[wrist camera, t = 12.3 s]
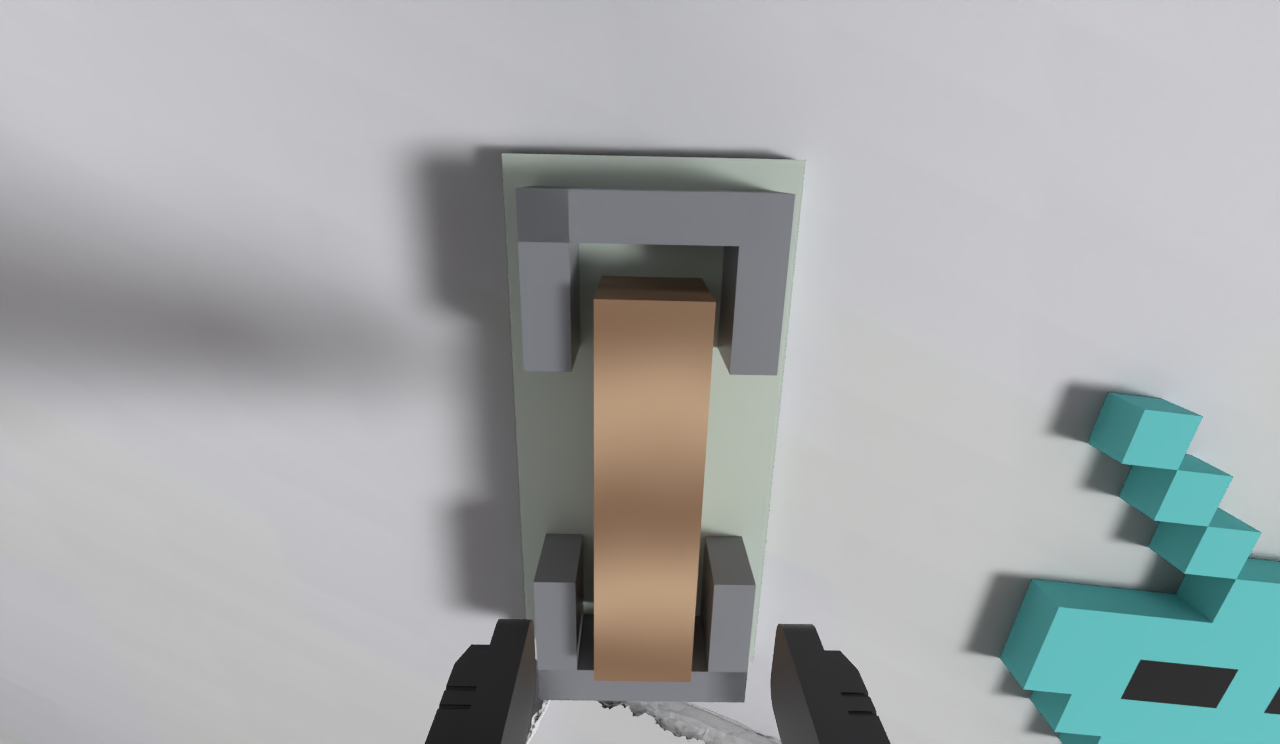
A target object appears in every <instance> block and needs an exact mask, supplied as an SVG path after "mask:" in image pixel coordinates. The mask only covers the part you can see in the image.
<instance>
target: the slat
mask: <svg viewBox="0 0 1280 744" xmlns="http://www.w3.org/2000/svg"><path fill="white" fill-rule="evenodd" d="M715 310H716V301H715V299H714V298H713V296H712V294H711V293H710V291H709V289H708V288H707V286H706V285H705V283H704V281H703V280H702V278H673V277H631V276H602V277H601V280H600V282H599V285H598V288H597V291H596V294H595V297H594V681H645V682H691V669H692V654H693V639H694V624H695V609H696V594H697V579H698V564H699V549H700V534H701V519H702V505H703V490H704V475H705V460H706V445H707V430H708V415H709V400H710V385H711V370H712V355H713V340H714V325H715Z"/></svg>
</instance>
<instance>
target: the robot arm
mask: <svg viewBox="0 0 1280 744" xmlns="http://www.w3.org/2000/svg"><path fill="white" fill-rule="evenodd" d="M535 690H536V659H535V638H534V623H533V620H529V619H499V620H498V622H497V624H496V627H495V630H494V633H493V636H492V640H491V643H490V645H471V646H470V647H469V648H468V649H467V650H466V651H465V653H464V654H463V655H462V656H461V657H460V658H459V659H458V660H457V662H456V663H455V664H454V667H453V669H452V672H451V675H450V677H449V680H448V683H447V686H446V690H445V691H444V694H443V696H442V699H441V702H440V704H439V709H438V710H437V712H436V715H435V718H434V720H433V723H432V726H431V728H430V731H429V734H428V736H427V739H426V742H425V744H526V741H527V736H528V731H529V726H530V721H531V716H532V711H533V706H534V699H535ZM771 699H772V706H773V711H774V715H775V719H776V723H777V727H778V731H779V735H780V739H781V743H782V744H890V741H889V739H888V737H887V735H886V732H885V730H884V728H883V726H882V723H881V721H880V719H879V716H877V715H876V710H875V707H874V705H873V703H872V701H871V698H870V697H868V691H867V689H866V687H865V685H864V682H863V680H862V678H861V676H860V673H859V671H858V670H857V668H856V667H855V666H854V665H853V664H852V663H851V662H850V661H849V660H848V659H847V658H846V657H845V656H844V655H843V653H842V652H841V651H826V650H824V649H823V646H822V644H821V641H820V638H819V636H818V633H817V631H816V628H815V627H814V626H813V625H812V624H778V626H777V630H776V637H775V646H774V654H773V663H772V671H771Z"/></svg>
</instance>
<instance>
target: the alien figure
mask: <svg viewBox="0 0 1280 744" xmlns="http://www.w3.org/2000/svg"><path fill="white" fill-rule="evenodd" d="M1202 417H1203V416H1201V415H1198V414H1196V413H1194V412H1191V411H1189V410H1187V409H1184V408H1182V407H1180V406H1177V405H1175V404H1173V403H1171V402H1168V401H1166V400H1164V399H1159V398H1151V397H1143V396H1135V395H1127V394H1118V393H1110V392H1108V394H1107V397H1106V399H1105V402H1104V404H1103V406H1102V409H1101V411H1100V414H1099V416H1098V419H1097V421H1096V424H1095V426H1094V429H1093V431H1092V433H1091V436H1090V438H1089V441H1088V444H1090V445H1092V446H1093V447H1095V448H1096V449H1098V450H1100V451H1101V452H1103V453H1105V454H1106V455H1108V456H1110V457H1111V458H1113V459H1115V460H1116V461H1118V462H1120V463H1121V464H1129V465H1133V466H1132V468H1131V470H1130V473H1129V475H1128V477H1127V479H1126V482H1125V484H1124V486H1123V488H1122V491H1121V493H1120V495H1119V497H1120V498H1121V499H1123V500H1124V501H1126V502H1127V503H1129V504H1130V505H1132V506H1133V507H1135V508H1136V509H1138V510H1139V511H1141V512H1142V513H1144V514H1145V515H1147V516H1148V517H1149V518H1151V519H1152V520H1154V521H1160V523H1159V525H1158V527H1157V529H1156V532H1155V534H1154V536H1153V538H1152V540H1151V542H1150V544H1149V546H1148V547H1149V548H1150V549H1151V550H1153V551H1154V552H1156V553H1157V554H1158V555H1160V556H1161V557H1162V558H1164V559H1165V560H1166V561H1168V562H1169V563H1170V564H1172V565H1173V566H1175V567H1176V568H1177V569H1179V570H1180V571H1181V572H1183V573H1184V574H1186V575H1185V577H1184V579H1183V581H1182V583H1181V585H1180V587H1179V589H1178V591H1177V593H1176V594H1169V593H1159V592H1150V591H1141V590H1131V589H1122V588H1112V587H1103V586H1094V585H1084V584H1075V583H1065V582H1056V581H1047V580H1037V579H1032V580H1031V583H1030V585H1029V588H1028V590H1027V593H1026V595H1025V597H1024V600H1023V602H1022V605H1021V607H1020V610H1019V612H1018V615H1017V617H1016V620H1015V622H1014V624H1013V627H1012V629H1011V632H1010V634H1009V637H1008V639H1007V642H1006V644H1005V646H1004V649H1003V651H1002V654H1001V656H1000V659H1001V660H1002V661H1003V663H1004V664H1005V665H1006V667H1007V668H1008V669H1009V671H1010V672H1011V674H1012V675H1013V676H1014V678H1015V679H1016V680H1017V682H1018V683H1019V684H1020V686H1021V687H1022V688H1023V689H1024V690H1033V692H1032V695H1031V697H1030V700H1031V701H1032V702H1033V704H1034V705H1035V706H1036V708H1037V709H1038V710H1039V712H1040V713H1041V715H1042V716H1043V717H1044V719H1045V720H1046V721H1047V723H1048V724H1049V725H1050V727H1051V728H1052V729H1053V731H1054V732H1060V734H1059V736H1058V738H1059V739H1060V741H1061V742H1062V743H1063V744H1280V561H1271V560H1262V559H1252V558H1248V557H1249V555H1250V553H1251V551H1252V549H1253V547H1254V546H1255V544H1256V542H1257V540H1258V538H1259V536H1260V534H1261V532H1260V531H1258V530H1256V529H1254V528H1253V527H1251V526H1249V525H1248V524H1246V523H1244V522H1242V521H1241V520H1239V519H1237V518H1235V517H1234V516H1232V515H1230V514H1229V513H1227V512H1225V511H1223V510H1222V509H1220V508H1218V506H1219V504H1220V502H1221V500H1222V498H1223V496H1224V494H1225V492H1226V490H1227V488H1228V486H1229V484H1230V482H1231V480H1232V478H1233V476H1231V475H1229V474H1227V473H1225V472H1223V471H1221V470H1219V469H1217V468H1215V467H1213V466H1212V465H1210V464H1208V463H1206V462H1204V461H1202V460H1200V459H1198V458H1196V457H1194V456H1192V455H1185V454H1186V451H1187V449H1188V447H1189V445H1190V443H1191V441H1192V439H1193V437H1194V434H1195V432H1196V430H1197V428H1198V426H1199V424H1200V422H1201V420H1202Z"/></svg>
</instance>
